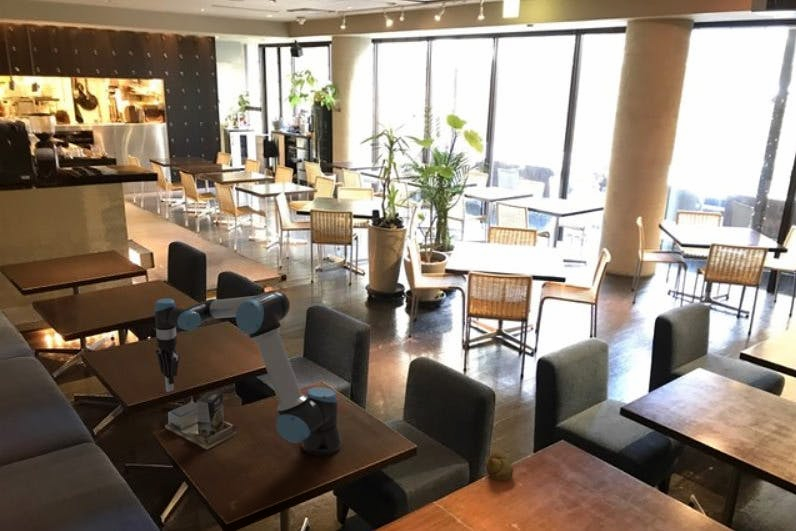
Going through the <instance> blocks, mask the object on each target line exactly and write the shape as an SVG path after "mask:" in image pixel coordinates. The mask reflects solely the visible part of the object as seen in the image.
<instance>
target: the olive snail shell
mask: <svg viewBox="0 0 796 531" xmlns="http://www.w3.org/2000/svg"><path fill="white" fill-rule="evenodd" d="M485 464H486V466H485V467H486V472H487V475H488V476H489V478H491V479H492V480H495V481H502V482H503V481H504V482H505V481H507V480H509V479H510V478H511V477H512V476H513V474H514V467H513V464H512V462H511V459H510V457H509V456H508V455H506V454H505V453H504V452H493V453H492V454H490V455H489V457H488V458H487V460H486V462H485Z"/></svg>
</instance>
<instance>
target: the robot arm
mask: <svg viewBox="0 0 796 531" xmlns="http://www.w3.org/2000/svg"><path fill="white" fill-rule="evenodd" d="M290 308H291V304H290V300H289V298H288V295H287V294H285V293H284V292H282V291H280V290H275V289H274V290H269V291H264V292H261V293H260V294H258V295H253V296H252V295H251V296H242V297H233V298H223V299H222V298H221V299H219V298H211V299H210V298H209V299H206V300H205V301H202V302H199V303H197V304H194V305H191V306H188V307H185V308H183V307H178V306H176V303H175V300H174V299H172V298H160V299H158V300H156V301H155V302H154V315H155V316H154V318H155V329H156V330H155V331H156V333H155V334H156V335H155V336H156V346H157V348H159V349H156V350H155V353H156V354H157V355H156V356H157V360H158V363H159V370H160V373H161V374H163V375H164V383H165V391H166V392H167V393H170V392H172V391H175V390H174V389H175V387H174V386H175V385H174V384H175V382H174V381H175V379H174V377H176V376H178V370H179V363H180V362H179V360H180V359H181V356H180V355H177V354H176V353H177V351H176V349H175V348H176V347H177V345H178V339H177V328H178V329H182V330H185V331H195V330H196V329H197V328H198V327H199V326H200V324H201V323H203V322H205V321H208V320H213V319H215V320H216V319H224V318H225V319H227V318H235V321H236V325H237V327H238V329H239V330H240V331H242V333H244V334H246V335H249V336H248V337H249V339H250V340H252V341H254V342H256V345H257V347H258V350H259V351H258V352H259V353H260V355H261V358H262V361H263V364H264V366H265V369H266V371H267V374H268V376H269V380H270V383H271V384H272V387H273V391H274V393H275V394H276V398H277V401H278V406H277V408H276V410H277V414H278V415H279V417H278V418H277V419H276V430H277V432H278V434H279V435H280V436H281V438H283V439H284V440H287V442H289V443H293V444H298V443H301V448H302V450H303V451H304V452H306V454H308V455H312V456H317V457H318V456H319V457H321V456H322V457H323V456H329V455H332V454H335V453H336V452H338V451H339V450H340V449H341V447H342V438H341V435H340V433H339V432H340V431H339V428H338V424H337V421H338V398H337V397H338V396H337V393H336V391H335V390H333V389H331V388H328V387H323V386H321V387H320V386H319V387H318V386H317V387H311V388H309V389H307V391H306V393H305V394H303V393H302V391H301V388H300V385H299V382H298V380H297V377H296V375H295V372H294V369H293V367H292V364H291V362H290V358H289V356H288V353H287V351H286V347H285V344H284V343H283V340H282V338H281V335H280V330H281V328H282V326H281V323H280V321H282V320H284V319H285V318H286V317H287V315H288V314H289V312H290Z"/></svg>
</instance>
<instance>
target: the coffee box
mask: <svg viewBox="0 0 796 531" xmlns="http://www.w3.org/2000/svg"><path fill="white" fill-rule="evenodd" d="M223 398H224V396H223V392H217V391H207V392H206V393H204V394H203V395H202V396H201V397H199V398H198V399H197V400H196V404H197V419H198V435H200V436H202V437H204V438H208V437H210V436H212V435H214V434H216V433H218V432H220V431H222V430H224V421H225V420H224V419H225V418H224V417H225V416H224V399H223Z"/></svg>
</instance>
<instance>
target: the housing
mask: <svg viewBox="0 0 796 531" xmlns="http://www.w3.org/2000/svg"><path fill="white" fill-rule="evenodd" d="M167 416H168V417H167V418H168V420H167V421H168V424H170V425H172V426H174V427H176V428H178V429H180V430H182V429H184V428H186V427H188V426H190V425H193V424H195V423H197V422H198V419H197V402H193V401H191V402H188V403H187V404H184V405H182V406H179V407H177V408H174V409H173V410H170V411H168V412H167Z"/></svg>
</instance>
